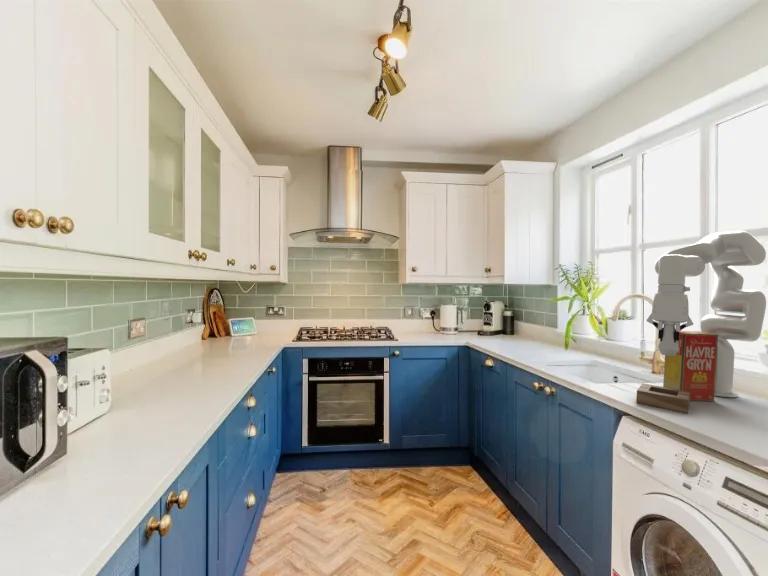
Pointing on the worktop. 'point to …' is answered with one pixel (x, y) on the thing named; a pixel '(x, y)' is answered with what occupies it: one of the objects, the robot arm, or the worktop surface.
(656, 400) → the socket block
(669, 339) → the salt shaker
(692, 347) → the food packaging
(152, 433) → the worktop surface
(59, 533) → the worktop surface
